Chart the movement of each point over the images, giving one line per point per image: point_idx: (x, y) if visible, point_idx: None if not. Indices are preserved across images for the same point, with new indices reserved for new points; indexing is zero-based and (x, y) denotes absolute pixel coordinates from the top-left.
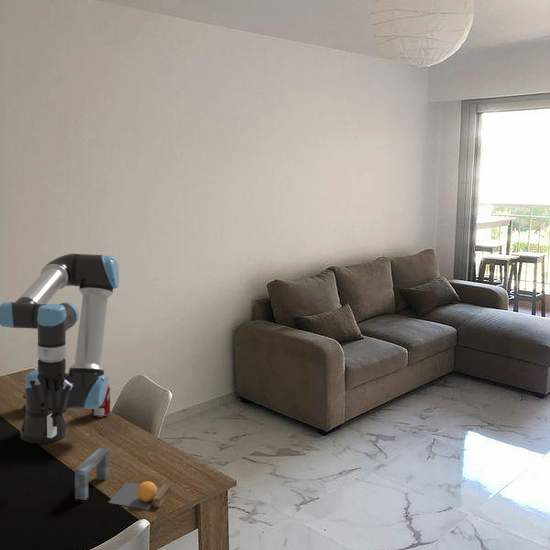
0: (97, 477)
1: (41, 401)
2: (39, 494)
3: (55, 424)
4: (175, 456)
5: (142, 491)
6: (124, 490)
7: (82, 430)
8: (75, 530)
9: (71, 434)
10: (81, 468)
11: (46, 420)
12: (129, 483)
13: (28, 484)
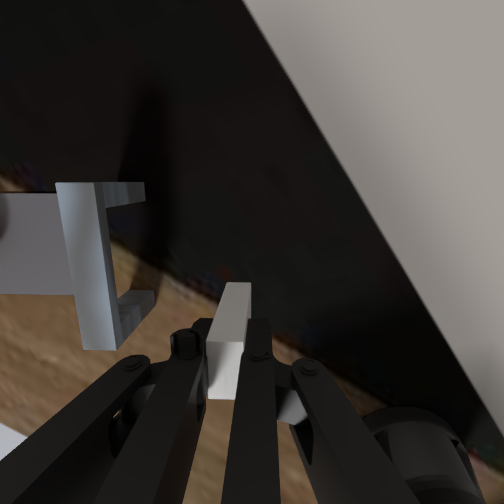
0: (148, 291)
1: (321, 459)
2: (244, 180)
3: (199, 324)
4: None
5: None
6: (58, 257)
7: None
8: (55, 42)
9: None
10: (79, 198)
11: (258, 335)
12: (66, 291)
13: (300, 217)
